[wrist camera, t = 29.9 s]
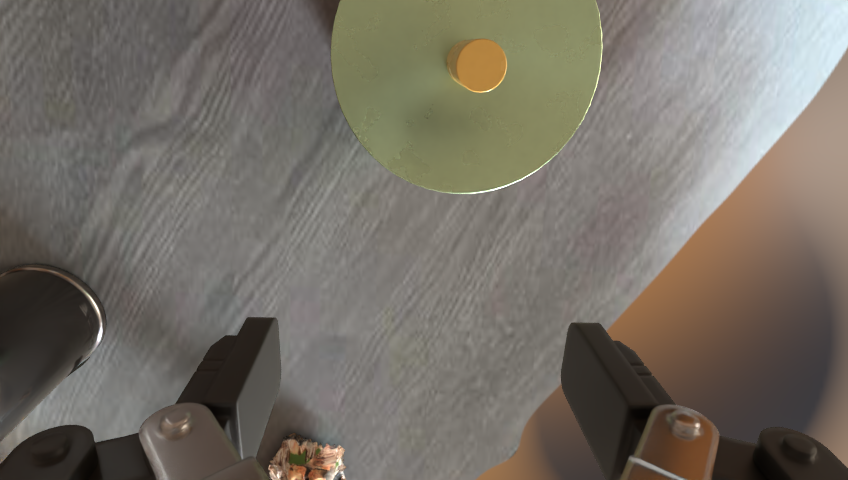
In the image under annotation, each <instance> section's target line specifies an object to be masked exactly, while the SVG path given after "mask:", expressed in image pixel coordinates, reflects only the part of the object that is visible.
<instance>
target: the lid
mask: <svg viewBox="0 0 848 480" xmlns="http://www.w3.org/2000/svg"><path fill="white" fill-rule="evenodd" d="M601 58H602V29H601V23H600V16H599V11H598V7H597V4H596V0H340V2H339V6H338V9H337V12H336V15H335V20H334V25H333V31H332V38H331V66H332V77H333V81H334V86H335V91H336V95H337V98H338V101H339V104H340V107H341V110H342V112H343V114H344V116H345V118H346V120H347V122H348V124H349V126H350V128H351V130H352V131H353V133H354V134H355V136H356V137H357V139H358V140H359V142H360V143H361V144H362V145H363V146H364V148H365V149H366V150H367V151H368V152H369V153H370V155H371V156H373V157H374V158H375V159H376V160H377V161H378V162H379V163H380V164H381V165H382V166H384V167H385V168H387V169H388V170H389V171H391V172H392V173H394V174H395V175H397V176H398V177H400V178H402V179H404V180H406V181H408V182H410V183H412V184H415V185H418V186H420V187H423V188H426V189H430V190H434V191H438V192H444V193H454V194H470V193H480V192H486V191H492V190H495V189H498V188H502V187H505V186H508V185H510V184H513V183H515V182H517V181H519V180H522V179H523V178H525V177H527V176H529V175H530V174H532V173H534V172H535V171H537V170H538V169H539V168H541V167H542V166H543V165H545V164H546V163H547V162H549V161H550V160H551V159H552V158H553V157H554V156H555V155H556V154H557V153H558V152H559V151H560V150H561V149H562V148H563V147H564V146H565V145H566V143H567V142H568V141H569V140H570V138H571V137H572V136H573V135H574V133H575V131H576V130H577V128H578V127H579V125H580V124H581V122H582V120H583V118H584V116H585V114H586V112H587V110H588V108H589V106H590V104H591V101H592V98H593V95H594V92H595V90H596V86H597V82H598V77H599V73H600V68H601Z"/></svg>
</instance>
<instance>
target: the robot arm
mask: <svg viewBox="0 0 848 480" xmlns="http://www.w3.org/2000/svg"><path fill="white" fill-rule="evenodd" d="M105 332H106V315H105V312H104V309H103V306H102V304H101V302H100V300H99V299H98V297H97V296H96V294H95V293H94V292H93V291H92V290H91V288H90V287H89V286H88V285H86V284H85V283H84V282H83V281H82V280H80V279H79V278H77V277H76V276H74V275H72V274H71V273H69V272H67V271H64V270H62V269H59V268H56V267H52V266H48V265H40V264H29V265H22V266H18V267H15V268H12V269H10V270H8V271H6V272H5V273H3V274H1V275H0V442H1V441H2V440H3V439H4V438H5V437H6V436H7V435H8V434H9V433H10V432H11V431H12V430H13V429H14V428H15V427H17V426H18V425H19V424H20V423H21V422H22V421H23V420H24V419H25V418H26V417H27V416H28V415H29V414H30V413H31V412H32V411H33V410H34V409H35V408H36V407H37V406H38V405H39V404H40V403H41V402H42V401H43V400H44V399H45V398H46V397H47V396H48V395H49V394H50V393H51V392H52V391H53V390H54V389H55V388H56V387H57V386H58V385H59V384H60V383H61V382H62V381H63V380H64V379H65V378H66V377H67V376H69V375H70V374H71V373H73V372H74V371H75V370H77V369H78V368H79V367H81V366H82V365H83V364H84V363H85V362H86V361H87V360H88V359H89V358H90V357H89V358H88V359H87V360H85V361H84V362H83V363H81V362H82V361H83V360H84V359H85V358H87V357H88V356H89V355H90V354H91V353H92V352H93V351H94V350H95V349H96V348H97V347H98V346H99V345H100V343H101V342H102V340H103V338H104V335H105ZM80 363H81V364H80ZM79 364H80V365H79ZM78 365H79V366H78ZM77 366H78V367H77ZM280 379H281V359H280V343H279V327H278V321H277V318H265V317H248V318H247V319H246V320H245V322H244V324H243V326H242V328H241V329H240V331H239V333H238V335H237V336H232V335H226V336H224V337H223V338H222V339H220V340H219V341H217V342H216V343H215V344H213V345H212V346H211V347H210V349H209V350H208V352H207V353H206V355H205V357H204V358H203V361H202V362H201V363H200V365H199V366H198V368H197V372H195V373H194V374H193V376H192V378H191V379H190V381H189V383H188V384H187V386H186V387H185V389H184V391H183V392H182V394H181V395H180V397H179V399H178V400H177V402H176V404H175V405H171V406H168V407H165V408H163V409H161V410H159V411H157V412H155V413H154V414H152V415H151V416H150V417H148V418H147V419H146V420H145V421H144V423H143V424H142V426H141V427H140V430H139V433H136V434H133V435H129V436H124V437H120V438H115V439H110V440H106V441H101V442H96V443H95V442H94V437H93V434H92V432H91V431H90V430H89V429H88V428H86V427H83V426H79V425H64V426H59V427H54V428H51V429H47V430H45V431H42V432H40V433H37V434H35V435H33V436H31V437H30V438H28V439H26V440H25V441H23V442H22V443H20V444H19V445H18V446H17V447H16V448H15V449H14V450H13V451H12V452H11V453H10V454H9V455H8V456H7V457H6V459H5V460H4V461H3V462H2V463H1V464H0V480H270V478H269V477H268V475H267V474H266V473H265V471H264V470H263V468H262V467H261V465H260V464H259V462H258V461H257V460H256V459H255V458H256V455H257V452H258V449H259V446H260V443H261V440H262V437H263V434H264V432H265V429H266V426H267V423H268V420H269V417H270V414H271V411H272V408H273V405H274V402H275V399H276V396H277V394H278V390H279V386H280ZM561 383H562V389H563V392H564V394H565V397H566V399H567V401H568V403H569V404H570V407H571V409H572V411H573V413H574V415H575V417H576V419H577V421H578V423H579V425H580V427H581V430H582V432H583V434H584V436H585V438H586V440H587V442H588V444H589V446H590V448H591V450H592V452H593V454H594V457H595V459H596V461H597V463H598V465H599V467H600V469H601V471H602V473H603V475H604V477H605V479H606V480H848V468H847V467H846V466H845V465H844V464H843V463H842V462H841V461H840V460H839V459H838V458H837V457H836V456H835V455H834V454H833V453H832V452H831V451H830V450H828V448H827V447H825V446H824V445H823V444H821V443H820V442H818V441H817V440H815V439H813V438H811V437H809V436H807V435H805V434H802V433H800V432H798V431H794V430H791V429H787V428H782V427H770V428H766V429H764V430H763V431H761V433H760V435H759V438H758V441H757V444H755V443H750V442H746V441H741V440H737V439H732V438H728V437H724V436H720V435H719V432H718V430H717V428H716V427H715V425H714V424H713V423H712V422H711V421H710V420H708V419H707V418H706V417H705V416H703V415H701V414H700V413H698V412H696V411H693V410H691V409H689V408H686V407H682V406H678V405H676V404H675V403H674V402H673V400H672V399H671V398H670V396H669V395H668V394H667V393H666V391H665V390H664V389H663V388H662V386H661V385H660V384H659V382H658V381H657V380H656V378H655V377H654V376H652V374H651V372H650V371H649V369H648V368H647V367H646V366H644V363H643V362H642V361H641V359H640V358H639V357H638V355H637V354H636V353H635V352H634V351H633V350H631V349H630V348H629V347H627V346H626V345H624V344H623V343H621V342H620V341H613V340H612V339H611V338H610V336H609V335H608V333H607V332H606V331H605V329H604V328H603V327H602V325H601V324H599V323H571V324H570V326H569V328H568V333H567V339H566V345H565V351H564V357H563V363H562V369H561Z"/></svg>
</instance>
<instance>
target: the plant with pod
mask: <svg viewBox="0 0 848 480" xmlns="http://www.w3.org/2000/svg"><path fill="white" fill-rule="evenodd" d="M311 440H312V439H309V440H307V439H306V438H305V439H304V440H303V439H302V438H301V439H300V435H298V436H297V435H296V434H295V433H294V434H291V435H289V436H286V438H284V440H283V441H284V442H283V443H282V445H281V447H280V449H279V450H278V453H277V454H276V456H275V457H274V458H273V459H274V461H270V462H271V463H272V464H274V465H269V468H268V470H270V471H271V472H269V474H271V475H270V477H271V479H273V480H346V479H344V478H345V477H344V475H345V474H344V473H342V472H343V471H344V469H345V468H346V467H345V466H344V464H343V463H342V462H343V461H344V459H343V458H341V457H344V454H343V453H344V451H345V450H344V449H343V448H342V447H340V446H339V445H338V447H337V449H336V446H335V445H332V446H329V445H328V444H326V446H325V448H324V450H323V447H322V444H321V443H320V445H319V447H318V445H317V442H313V443H311Z"/></svg>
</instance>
